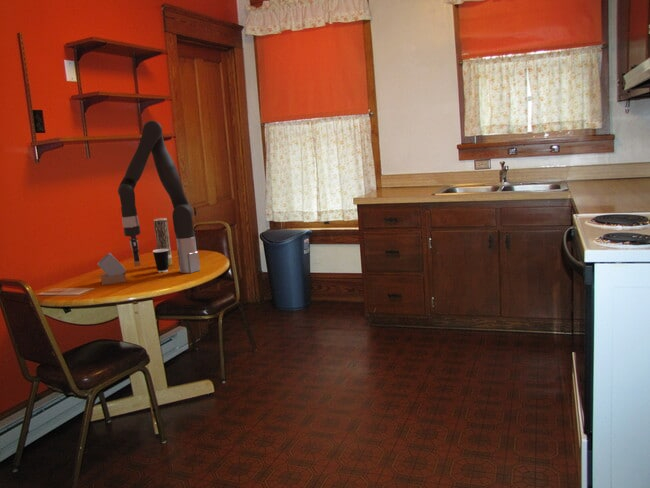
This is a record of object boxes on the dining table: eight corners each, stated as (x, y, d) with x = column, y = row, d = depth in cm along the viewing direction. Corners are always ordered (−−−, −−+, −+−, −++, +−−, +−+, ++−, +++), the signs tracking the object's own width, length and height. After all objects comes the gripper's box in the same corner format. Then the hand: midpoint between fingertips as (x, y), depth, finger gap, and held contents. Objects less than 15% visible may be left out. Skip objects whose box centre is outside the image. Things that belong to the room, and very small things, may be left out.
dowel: (142, 265, 301) (138, 240, 299) (137, 266, 298) (133, 242, 296) (138, 264, 303) (134, 240, 300) (133, 266, 300) (129, 242, 298)
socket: (126, 277, 304) (122, 250, 301) (127, 281, 295) (123, 253, 293) (100, 281, 300) (96, 253, 298) (100, 285, 292) (96, 256, 289)
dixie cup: (173, 271, 311) (170, 249, 310) (158, 274, 307) (155, 252, 305) (168, 269, 318) (165, 248, 316) (152, 271, 314) (150, 250, 312)
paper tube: (174, 263, 331) (168, 217, 326) (169, 266, 324) (164, 219, 320) (162, 264, 332) (156, 218, 327) (157, 267, 325) (151, 220, 321)
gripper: (122, 225, 302) (128, 259, 305) (123, 228, 289) (129, 264, 292) (138, 222, 305) (143, 257, 308) (140, 225, 292) (145, 261, 295)
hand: (136, 260), depth 300 cm, fingers closed on dowel, 3 cm apart
